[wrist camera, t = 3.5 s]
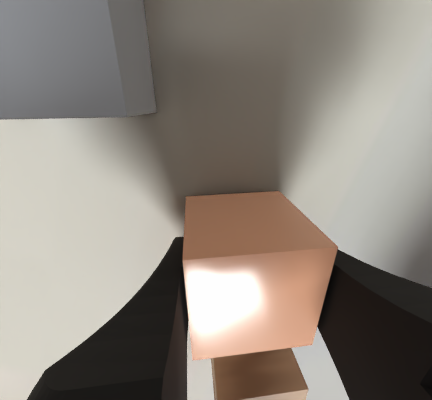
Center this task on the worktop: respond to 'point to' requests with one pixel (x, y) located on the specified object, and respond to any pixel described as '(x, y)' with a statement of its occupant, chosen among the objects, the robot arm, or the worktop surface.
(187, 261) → the terracotta cube
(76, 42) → the slate cube
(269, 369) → the walnut cube
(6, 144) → the worktop surface
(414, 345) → the robot arm
